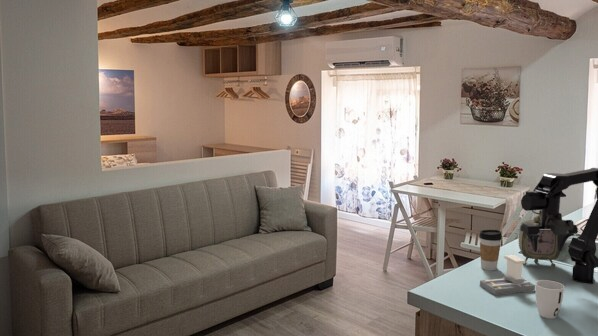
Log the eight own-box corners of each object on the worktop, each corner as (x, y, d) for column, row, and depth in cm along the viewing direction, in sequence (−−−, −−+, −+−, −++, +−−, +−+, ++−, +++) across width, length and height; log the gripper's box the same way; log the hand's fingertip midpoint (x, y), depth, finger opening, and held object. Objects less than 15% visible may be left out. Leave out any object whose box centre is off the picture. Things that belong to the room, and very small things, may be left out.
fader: (512, 276, 190) (513, 254, 189) (524, 282, 184) (525, 260, 183) (502, 276, 189) (503, 255, 188) (514, 283, 183) (516, 261, 182)
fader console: (518, 281, 193) (518, 274, 192) (534, 290, 184) (535, 283, 184) (479, 285, 189) (480, 278, 189) (494, 295, 180) (495, 287, 180)
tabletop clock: (520, 266, 209) (523, 205, 205) (516, 259, 217) (519, 200, 214) (559, 269, 205) (564, 207, 202) (553, 262, 214) (558, 202, 210)
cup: (560, 322, 159) (562, 291, 157) (531, 316, 163) (533, 286, 162) (563, 313, 166) (565, 283, 164) (535, 307, 170) (537, 278, 168)
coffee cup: (501, 272, 203) (504, 234, 201) (479, 270, 204) (480, 233, 202) (498, 264, 211) (500, 228, 209) (476, 263, 213) (478, 227, 210)
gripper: (538, 215, 177) (535, 259, 180) (589, 213, 179) (585, 257, 182) (521, 207, 188) (518, 249, 191) (569, 206, 190) (566, 248, 193)
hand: (547, 251), depth 189 cm, fingers open, 9 cm apart
